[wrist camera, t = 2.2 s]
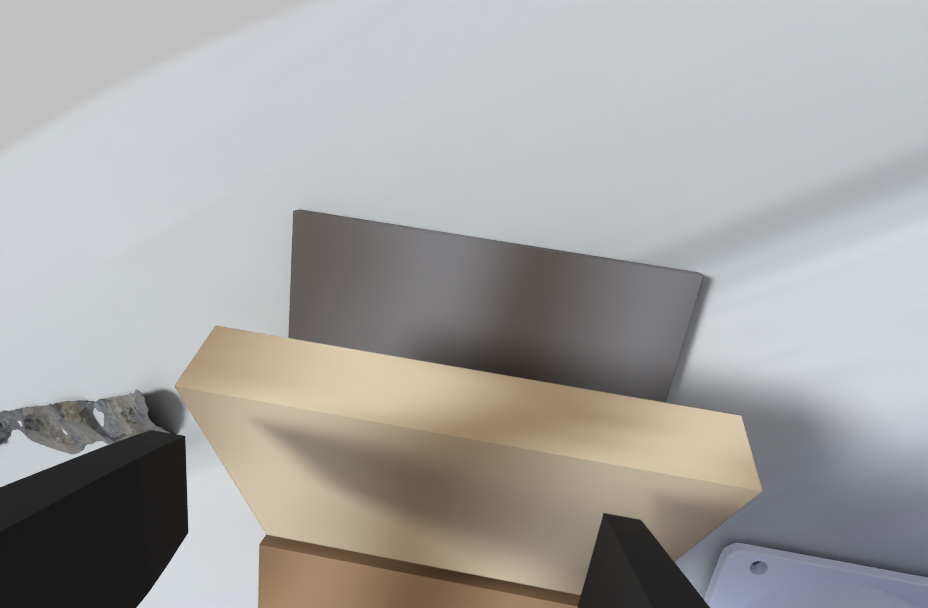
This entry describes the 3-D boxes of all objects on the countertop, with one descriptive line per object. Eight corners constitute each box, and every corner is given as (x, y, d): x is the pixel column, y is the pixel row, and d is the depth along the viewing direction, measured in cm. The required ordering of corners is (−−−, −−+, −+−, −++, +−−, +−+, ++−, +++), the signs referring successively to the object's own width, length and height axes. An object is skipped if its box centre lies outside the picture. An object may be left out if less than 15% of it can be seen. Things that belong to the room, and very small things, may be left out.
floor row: (697, 272, 13) (727, 290, 11) (576, 685, 18) (584, 746, 16) (299, 209, 14) (266, 217, 12) (282, 626, 18) (256, 678, 16)
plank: (740, 415, 9) (762, 491, 8) (618, 548, 15) (621, 603, 14) (215, 325, 10) (174, 385, 9) (286, 486, 16) (266, 534, 15)
